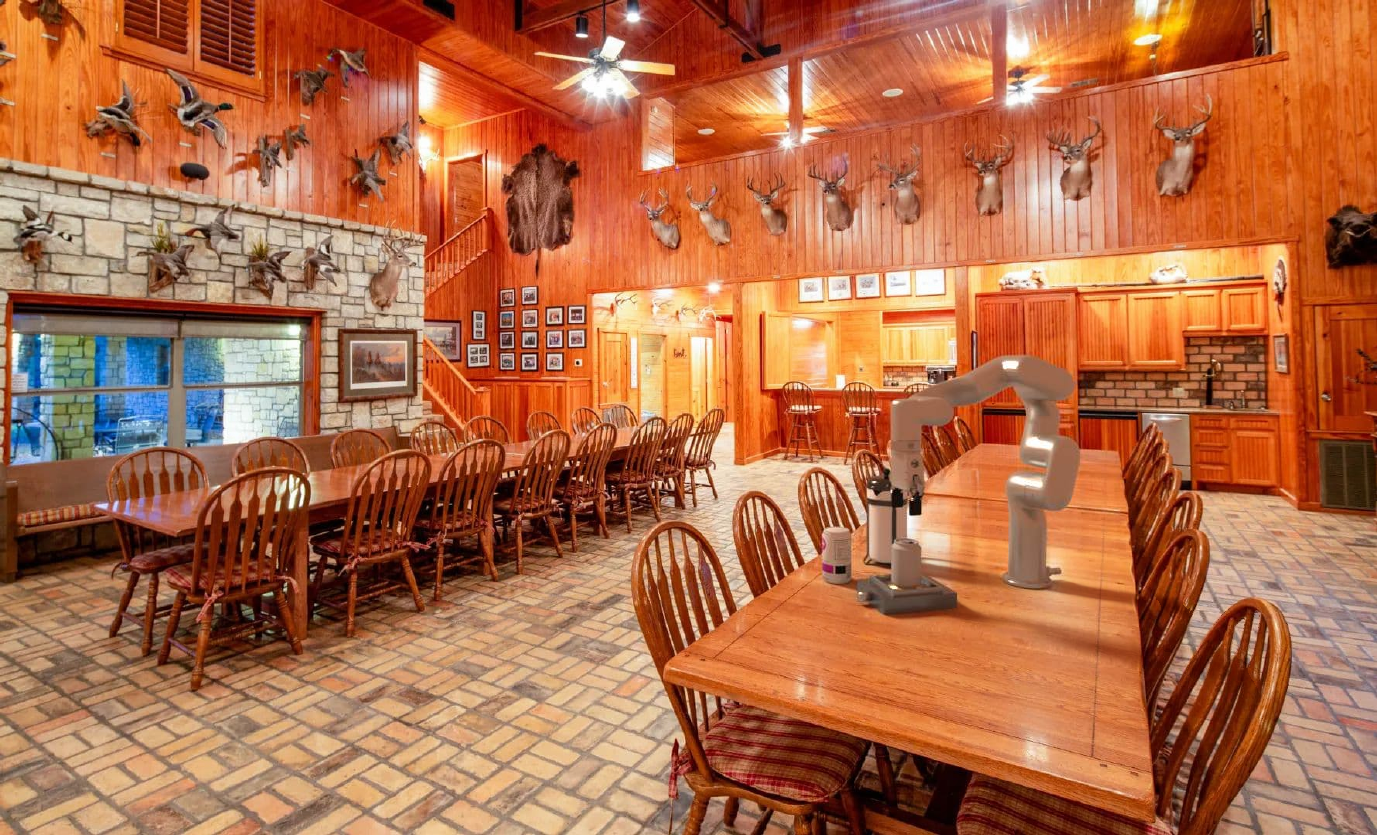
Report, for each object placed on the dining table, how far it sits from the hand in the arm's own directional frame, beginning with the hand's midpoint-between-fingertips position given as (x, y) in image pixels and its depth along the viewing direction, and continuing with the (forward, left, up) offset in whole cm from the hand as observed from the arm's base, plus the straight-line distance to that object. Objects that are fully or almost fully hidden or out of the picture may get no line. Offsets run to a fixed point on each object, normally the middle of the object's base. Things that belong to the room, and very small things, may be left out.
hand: (905, 511), depth 176 cm
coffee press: (-11, -33, -24) cm, 43 cm away
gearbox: (+2, 0, -24) cm, 24 cm away
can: (0, 0, -20) cm, 20 cm away
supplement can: (+11, -20, -24) cm, 33 cm away
